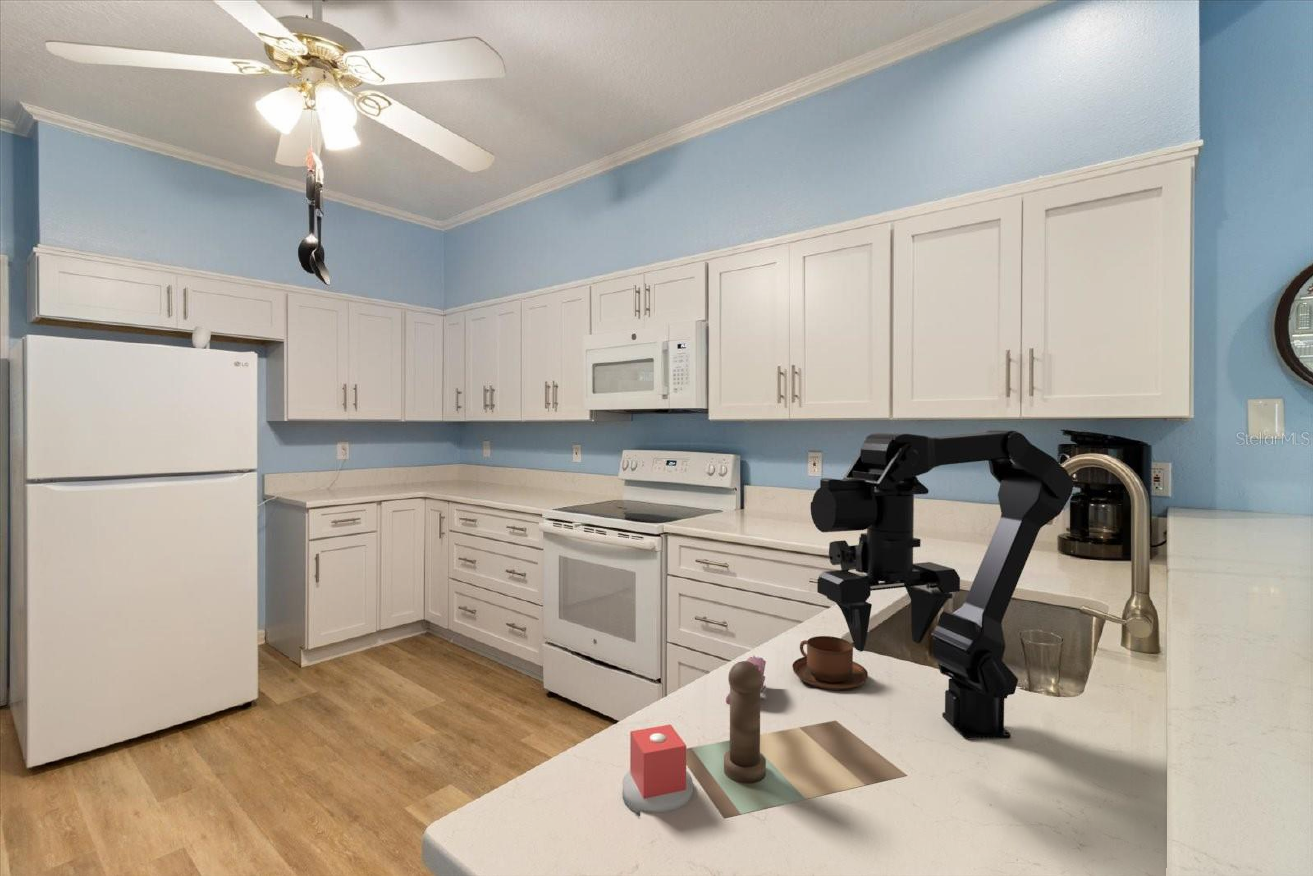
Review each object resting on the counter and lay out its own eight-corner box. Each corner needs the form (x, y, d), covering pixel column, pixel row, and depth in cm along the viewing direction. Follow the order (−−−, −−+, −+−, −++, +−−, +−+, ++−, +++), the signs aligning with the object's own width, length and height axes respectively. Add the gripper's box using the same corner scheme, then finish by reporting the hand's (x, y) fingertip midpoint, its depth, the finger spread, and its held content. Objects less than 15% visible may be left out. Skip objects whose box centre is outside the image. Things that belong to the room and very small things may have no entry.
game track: (835, 724, 85) (835, 720, 85) (907, 780, 72) (907, 775, 72) (676, 755, 77) (676, 750, 77) (724, 823, 64) (724, 818, 64)
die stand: (677, 769, 74) (677, 715, 74) (703, 808, 66) (704, 749, 66) (614, 781, 71) (614, 726, 71) (634, 824, 64) (634, 762, 64)
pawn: (761, 759, 75) (762, 654, 75) (769, 783, 70) (770, 670, 70) (721, 759, 75) (721, 654, 75) (726, 783, 70) (727, 671, 70)
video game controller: (750, 721, 89) (772, 681, 88) (722, 705, 90) (744, 665, 89) (752, 692, 99) (772, 656, 98) (727, 678, 100) (746, 641, 99)
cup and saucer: (781, 685, 98) (781, 647, 98) (806, 660, 108) (807, 626, 108) (856, 704, 92) (856, 663, 92) (875, 676, 102) (876, 640, 102)
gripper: (903, 516, 90) (902, 620, 90) (794, 522, 84) (793, 634, 84) (964, 528, 80) (962, 646, 80) (844, 537, 73) (843, 664, 74)
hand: (888, 646), depth 80 cm, fingers open, 9 cm apart
